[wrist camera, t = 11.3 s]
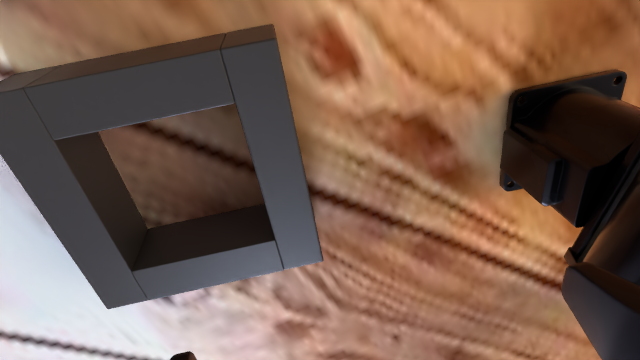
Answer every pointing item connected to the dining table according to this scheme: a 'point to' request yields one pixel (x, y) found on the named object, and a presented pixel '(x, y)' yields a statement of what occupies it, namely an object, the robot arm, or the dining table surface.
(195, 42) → the holder
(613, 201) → the robot arm
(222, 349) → the dining table surface
